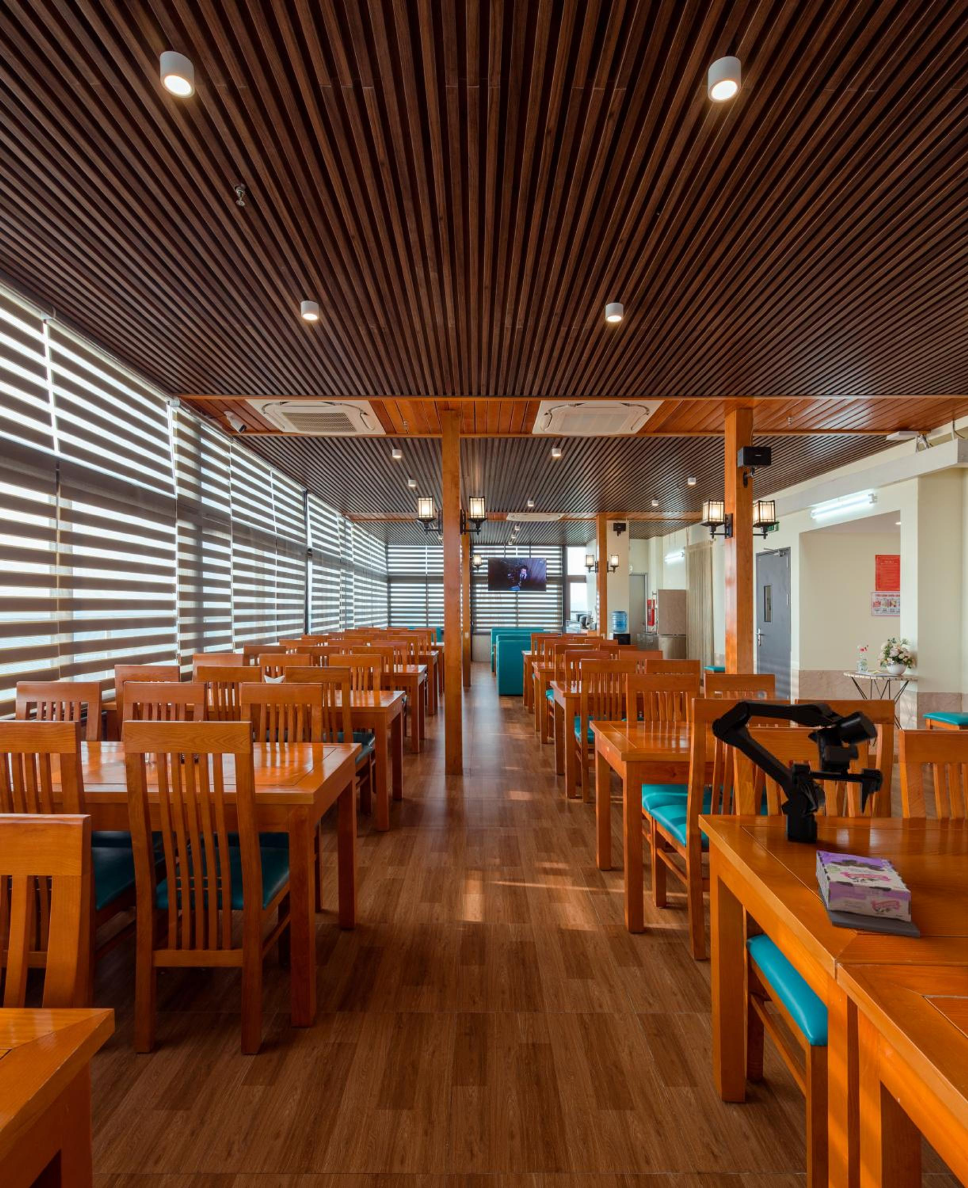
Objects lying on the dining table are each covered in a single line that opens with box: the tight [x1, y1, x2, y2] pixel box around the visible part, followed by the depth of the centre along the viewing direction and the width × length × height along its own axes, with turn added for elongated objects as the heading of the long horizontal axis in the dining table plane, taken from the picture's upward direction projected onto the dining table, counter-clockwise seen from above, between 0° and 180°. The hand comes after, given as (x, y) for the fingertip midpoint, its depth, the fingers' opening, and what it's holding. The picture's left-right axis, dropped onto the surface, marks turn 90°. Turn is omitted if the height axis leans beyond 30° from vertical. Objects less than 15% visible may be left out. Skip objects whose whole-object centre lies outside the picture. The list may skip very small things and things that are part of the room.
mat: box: [817, 887, 921, 938], centre depth 128 cm, size 14×15×1 cm
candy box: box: [815, 850, 912, 922], centre depth 132 cm, size 14×6×16 cm
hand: (839, 810), depth 150 cm, fingers open, 9 cm apart
